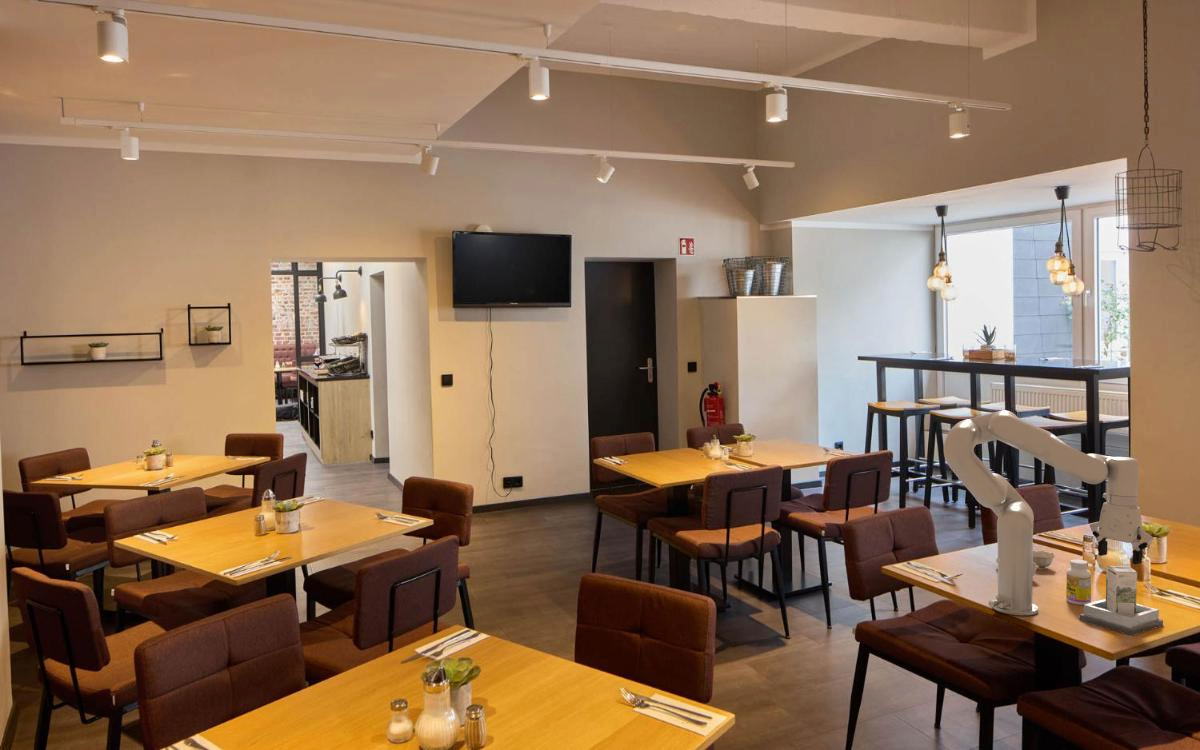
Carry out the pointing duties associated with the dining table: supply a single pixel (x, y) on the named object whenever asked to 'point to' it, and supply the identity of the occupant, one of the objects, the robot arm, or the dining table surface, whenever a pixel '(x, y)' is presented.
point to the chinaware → (1041, 560)
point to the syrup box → (1121, 590)
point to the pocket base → (1121, 618)
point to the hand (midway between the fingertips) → (1119, 559)
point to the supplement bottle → (1078, 583)
